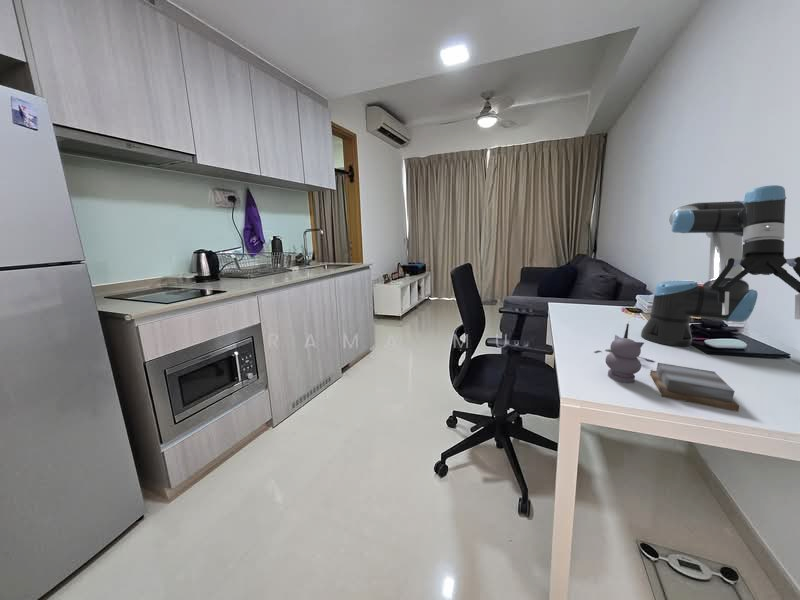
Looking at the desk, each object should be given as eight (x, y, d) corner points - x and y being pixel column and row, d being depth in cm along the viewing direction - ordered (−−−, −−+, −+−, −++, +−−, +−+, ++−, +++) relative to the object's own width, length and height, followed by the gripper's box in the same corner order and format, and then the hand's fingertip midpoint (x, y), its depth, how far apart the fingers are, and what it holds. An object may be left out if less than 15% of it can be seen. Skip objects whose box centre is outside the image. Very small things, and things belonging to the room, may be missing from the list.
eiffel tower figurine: (656, 363, 100) (664, 324, 97) (642, 370, 95) (649, 329, 92) (607, 348, 112) (613, 313, 109) (592, 353, 107) (597, 317, 105)
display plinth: (649, 374, 90) (652, 360, 89) (714, 386, 84) (717, 370, 83) (662, 396, 78) (665, 380, 77) (737, 411, 72) (742, 394, 71)
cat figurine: (596, 374, 91) (602, 335, 88) (613, 369, 94) (619, 332, 91) (627, 387, 83) (635, 345, 81) (644, 381, 86) (652, 341, 84)
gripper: (704, 240, 90) (700, 311, 88) (844, 234, 75) (843, 319, 74) (698, 247, 96) (695, 314, 94) (827, 243, 81) (826, 322, 80)
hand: (760, 316), depth 84 cm, fingers open, 13 cm apart
